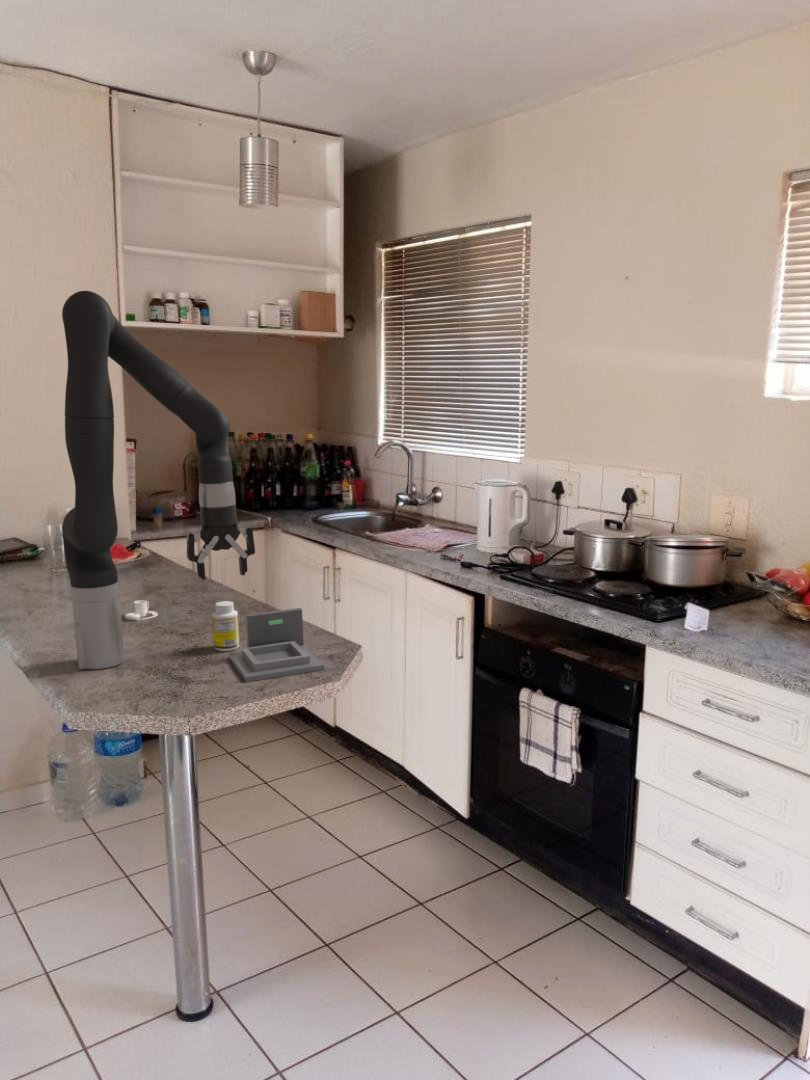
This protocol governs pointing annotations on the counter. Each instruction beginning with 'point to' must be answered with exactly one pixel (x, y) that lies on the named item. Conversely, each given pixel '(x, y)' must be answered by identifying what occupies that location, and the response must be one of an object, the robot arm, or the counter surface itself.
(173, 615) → the counter surface
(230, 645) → the supplement bottle
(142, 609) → the teacup and saucer
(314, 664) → the charging dock
